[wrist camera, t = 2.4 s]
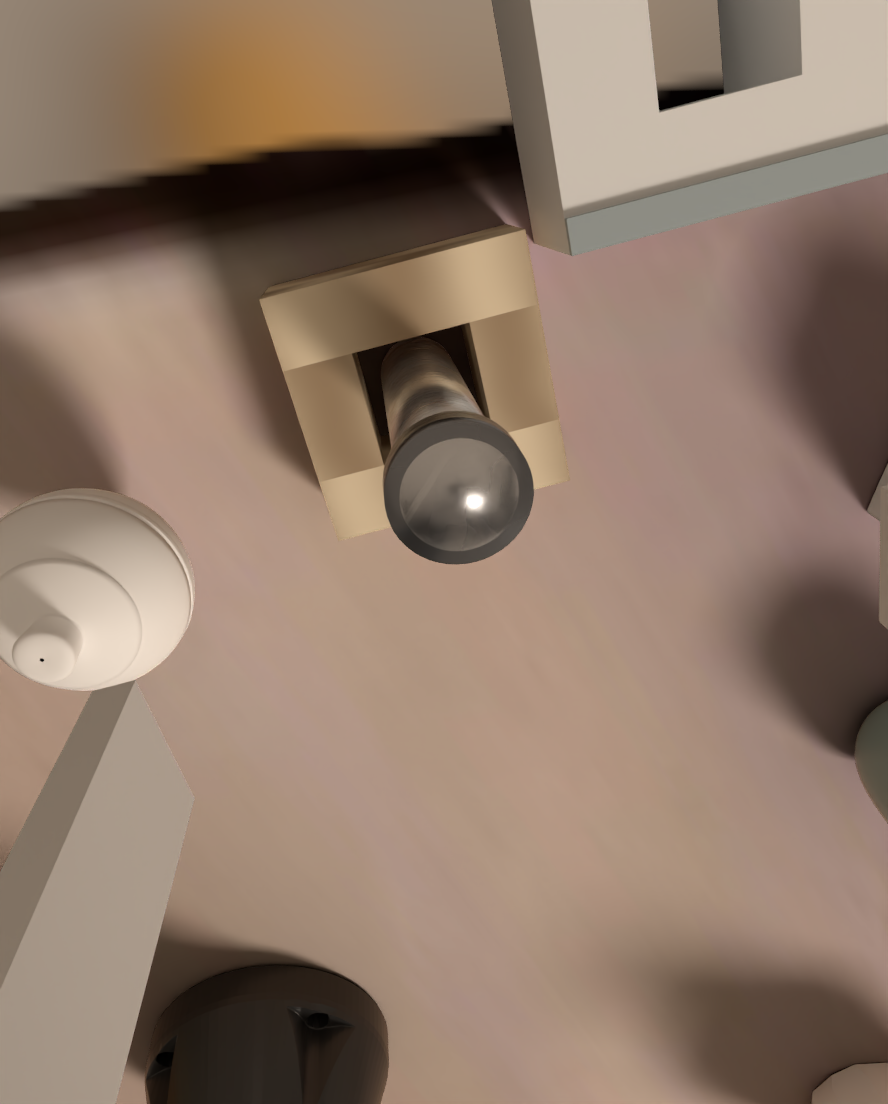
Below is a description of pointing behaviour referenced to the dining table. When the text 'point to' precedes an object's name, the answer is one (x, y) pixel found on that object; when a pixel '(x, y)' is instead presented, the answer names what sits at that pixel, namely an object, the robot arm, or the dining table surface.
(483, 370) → the mount
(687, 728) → the dining table surface
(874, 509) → the skincare box
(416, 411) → the pin
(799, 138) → the socket
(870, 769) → the cup
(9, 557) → the spinning top
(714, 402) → the dining table surface
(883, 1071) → the vase
